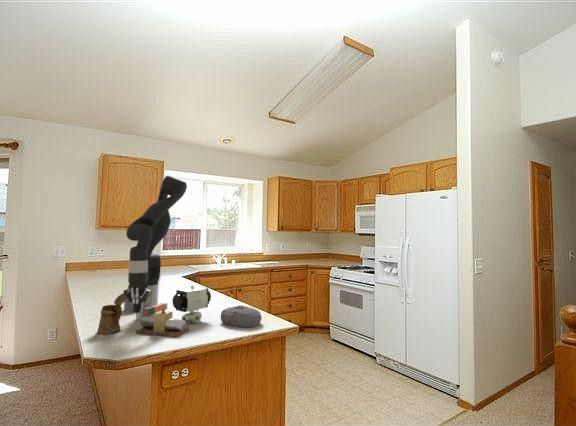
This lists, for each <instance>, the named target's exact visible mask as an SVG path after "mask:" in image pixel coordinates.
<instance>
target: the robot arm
mask: <svg viewBox="0 0 576 426" xmlns="http://www.w3.org/2000/svg"><path fill="white" fill-rule="evenodd" d="M187 187H188V185H187V182H186V181H185V180H181V179H180V178H177V177H175V176H172V175H166V176H165V177H164V178H163V180H162V182H161V186H160V189H159V193H158V198H157V200H156V201H157V202H155V203H152V204H151V205H149V207H148V208H147V209H146V210H145V211H144V213H143V214H142V215H141V216H140V217H138V218H136V220H134V221H133V222H132V223H131V224H130V225H129V226H128V227H127V229H126V232H125V233H126V237H127V239H128V240H129V241H133V242H137V243H136V246H132V247H131V248H130V250H129V263H128V273H127V274H128V276H127V277H128V278H127V279H128V280H127V283H128V287H127V288H126V289H124V290H123V293H124V294H125V295H126V297H127V299H128V300H129V302H132V303H133V311H134V312H133V313H134V314H135V319H136V320H138V321H141V319H142V318H143V317H154V314H152V315H150V316H143V309H144V308H147V307H152V306H155V305H158V299H159V296H158V295H159V281H160V277H161V267H162V264H161V263H162V260H161V257H160V255H159V254H158V253H156V252H155V253H154V252H153V251H154V249H155V248H156V246H157V245H158V244H159V243H160V242H161V241H162V240H163V239H164V238H165V237H166V235H167V234H168V231H169V228H170V226H171V223H172V221H171V220H172V219H171V215H170V211H169V210H170V209H171V208H172V207H173V206H174V205H176V203H177V202H178V201H180V199H182V198H183V196H184V195H185V193H186V191H187ZM135 295H136V296H135ZM156 313H157V312H156Z"/></svg>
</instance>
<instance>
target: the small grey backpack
mask: <svg viewBox="0 0 576 426" xmlns="http://www.w3.org/2000/svg"><path fill="white" fill-rule="evenodd" d="M262 318H263V317H262V314H261V312H260V311H259V310H258V309H256V308H253V307H248V306H244V305H240V304H239V305H237V306H232V307H231V306H230V307H226V308H225V309H223V310H222V311H221V313H220V321H221V323H223V324H226V325H227V326H231V327H237V328H253V327H257V326H259V325H260V324H261V321H262Z"/></svg>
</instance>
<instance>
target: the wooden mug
mask: <svg viewBox="0 0 576 426" xmlns="http://www.w3.org/2000/svg"><path fill="white" fill-rule="evenodd" d="M126 299H127V297H126V295H125V294H124V292H123V293H121V294H119V295H118V296H117V297H116V298H115V299H114V302H113V303H114V304H106V305H103V306H102V307H101V310H100V318H99V323H98V328H97V331H96V334H97V335H104V336H105V335H113V334H115V333H116V334H117V333H118V332H120V331H121V325H120V320H121V318H122V314H123V309H122V306H121V305H122V304H124V302H125V300H126Z"/></svg>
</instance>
